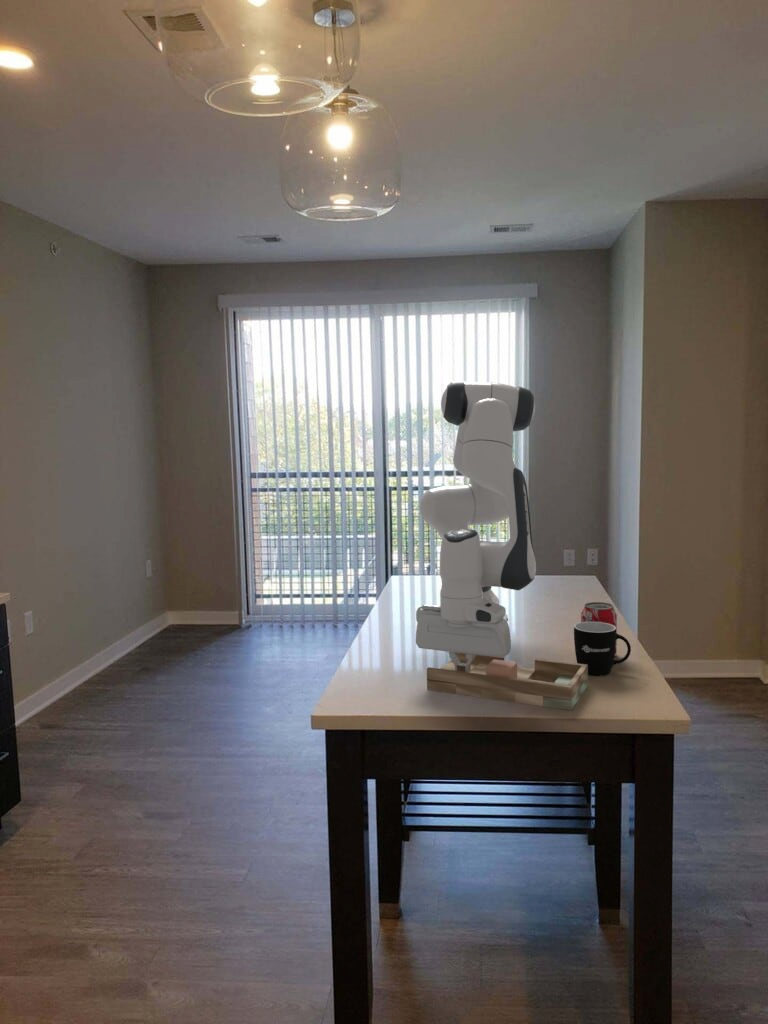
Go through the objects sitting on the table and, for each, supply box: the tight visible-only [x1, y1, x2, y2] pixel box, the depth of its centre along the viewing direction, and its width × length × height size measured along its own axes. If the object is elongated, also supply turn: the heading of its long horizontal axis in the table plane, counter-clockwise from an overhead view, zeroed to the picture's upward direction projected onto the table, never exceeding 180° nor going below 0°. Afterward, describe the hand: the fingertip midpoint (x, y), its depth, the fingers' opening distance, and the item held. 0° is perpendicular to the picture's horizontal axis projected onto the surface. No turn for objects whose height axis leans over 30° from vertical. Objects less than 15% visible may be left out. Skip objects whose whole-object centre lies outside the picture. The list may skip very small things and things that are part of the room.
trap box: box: [426, 653, 589, 711], centre depth 156 cm, size 15×30×4 cm, turn 63°
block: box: [486, 659, 518, 679], centre depth 153 cm, size 5×5×4 cm
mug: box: [573, 621, 632, 677], centre depth 164 cm, size 12×9×10 cm
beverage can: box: [580, 601, 618, 655], centre depth 176 cm, size 8×8×12 cm
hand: (462, 672), depth 157 cm, fingers closed
